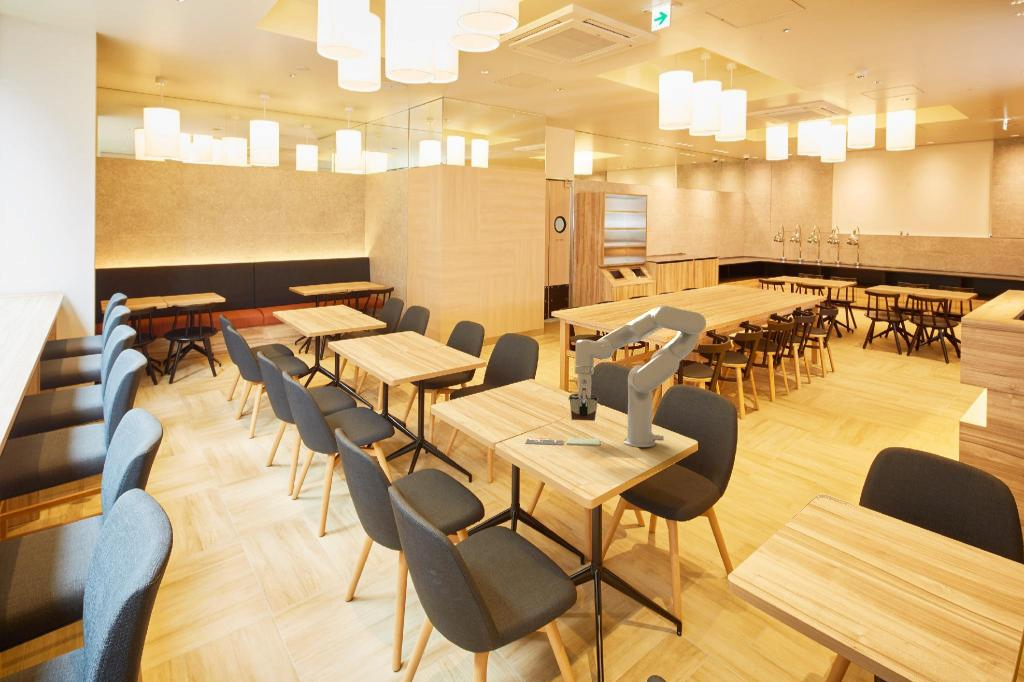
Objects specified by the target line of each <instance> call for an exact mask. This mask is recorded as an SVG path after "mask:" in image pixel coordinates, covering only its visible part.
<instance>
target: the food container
mask: <svg viewBox="0 0 1024 682" xmlns="http://www.w3.org/2000/svg"><path fill="white" fill-rule="evenodd" d="M581 395H582V394H581ZM581 398H582V397H581ZM568 401H569V407H570V418H571V421H585V422H587V421H589V422H590V421H591V422H592V421H593V422H595V421H596V417H597V415H596V414H597V409H598V402H600V399H599V395H596V394H592V393H591V399H589V398H588V397H587V406H588V410H587V416H579V407H580V399H579V396H578V392H577V393H571V394H569V396H568Z"/></svg>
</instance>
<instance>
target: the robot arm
mask: <svg viewBox="0 0 1024 682" xmlns="http://www.w3.org/2000/svg"><path fill="white" fill-rule="evenodd" d="M706 325H707V320H706V318H705V316H704V315H703V314H701V313H700V312H695V311H691V310H686V309H681V308H677V307H673V306H669V305H658V306H656V307H653V308H652V309H650V310H649V311H647V312H645V313H643V314H642V315H640V316H638V317H636V318H635V319H633V320H631V321H629V322H627V323H626V324H624V325H622V326H621V327H619V328H617V329H615V330H613V331H611V332H609V333H608V334H606V335H604V336H602V337H601V338H599V339H598V340H592V339H578V340H576V341H575V356H574V357H575V358H574V359H575V360H574V361H575V364H574V374H575V375H577V393H578V396H579V399H580V407H579V416H587V410H588V406H587V397H588V398H589V399H591V394H592V375H594V373H595V368H594V367H595V359H601V360H606V359H607V360H608V359H610V358H612V356H614V353H615V352H616V351H617V350H619V349H621V348H623V347H625V346H627V345H629V344H633V343H638V342H640V341H643V340H644V339H645V338H647V337H649V336H651V335H652V334H654V333H656V332H658V331H661V330H662V329H668V330H671V331H675V332H677V334H676V335H675V336H674V337H673V338H672V339H671V340H670V341H669V342H667V343H665V345H663V346H662V347H661V348H659V349H658V350H656V351H655V352H654V353H653V354H652V355H651V358H650V361H648V362H647V363H646V364H645V365H636V366H634V367H632V368H631V369H630V371H629V373H628V376H627V390H628V391H627V392H628V394H627V395H628V396H627V397H628V399H627V402H628V404H627V433H626V435H627V437H625V438H624V439H623V440H622V441H623V442H622V443H623V444H624V445H627V446H629V447H634V448H635V447H636V448H651V447H654V446H655V445H656V441H659V442H660V441H661V442H663V441H664V435H660V434H654V433H653V432H652V429H653V427H652V425H653V423H652V422H653V402H654V401H653V390H655V389H657V388H658V387H659V386H660V385H662V384H663V383H664V382H666V381H667V380H668V379H670V378H671V377H672V376H673V375H675V374H676V373H677V371H678V370H679V368H680V362H681V361H682V360H683V359H685V358H686V357H687V356H688V355H690V354H691V353H692V351H693V350H694V349H695V348H696V346H697V345H698V343H699V342H698V341H699V340H700V334H701V333H702V332H703V331H704V330H705V329H706ZM581 394H582V395H581ZM581 397H582V398H581Z"/></svg>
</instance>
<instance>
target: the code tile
mask: <svg viewBox="0 0 1024 682" xmlns="http://www.w3.org/2000/svg"><path fill="white" fill-rule="evenodd" d="M540 439H541V438H538V440H529V439H527V438H526V440H525V445H550V446H551V445H552V446H553V445H554V446H563V445H564V440H557V439H554V438H548V439H549V440H540Z"/></svg>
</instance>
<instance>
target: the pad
mask: <svg viewBox="0 0 1024 682" xmlns="http://www.w3.org/2000/svg"><path fill="white" fill-rule="evenodd" d="M566 445H568V446H569V445H571V446H597V447H598V446H599V447H600V446H601V443H600V439H599V438H582V437H579V438H578V437H577V438H576V437H567V439H566Z"/></svg>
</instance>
